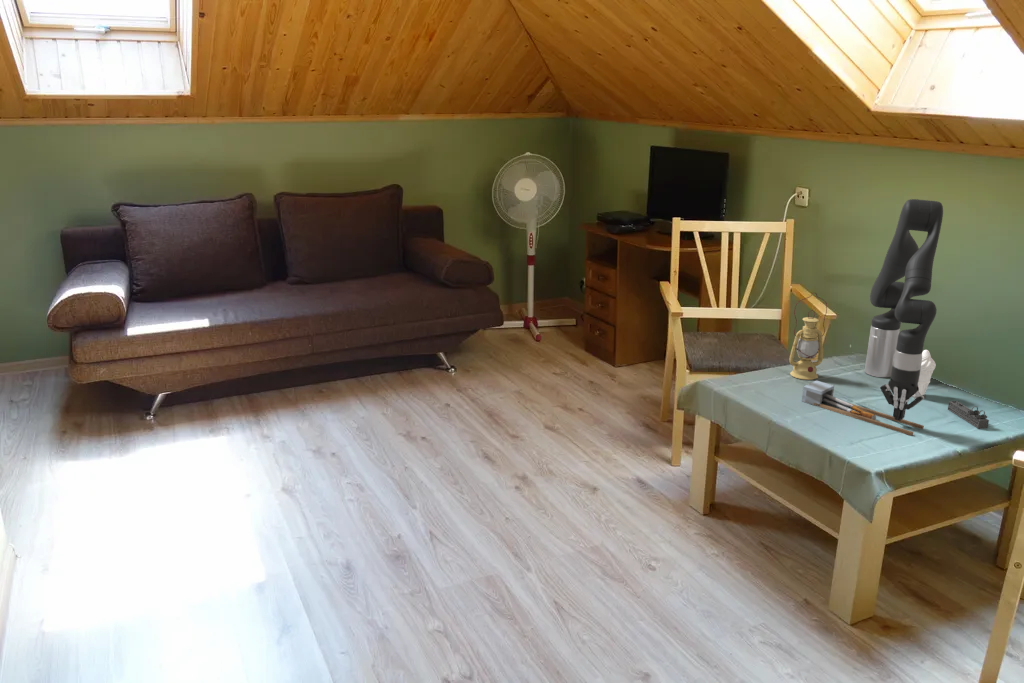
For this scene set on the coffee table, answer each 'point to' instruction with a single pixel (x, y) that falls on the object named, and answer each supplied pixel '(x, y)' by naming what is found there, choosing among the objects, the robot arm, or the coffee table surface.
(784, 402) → the coffee table surface
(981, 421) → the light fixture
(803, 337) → the lantern
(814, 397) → the holder
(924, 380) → the soft serve ice cream cone
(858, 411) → the chisel
